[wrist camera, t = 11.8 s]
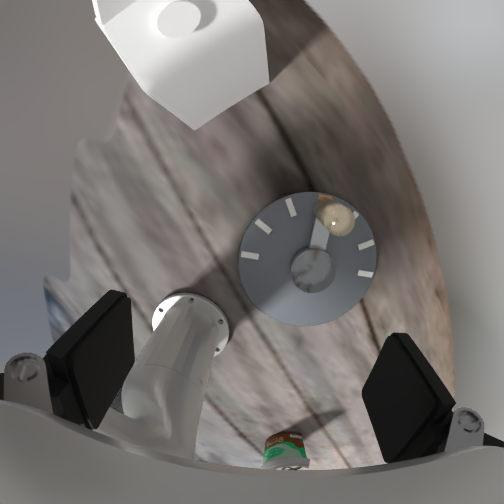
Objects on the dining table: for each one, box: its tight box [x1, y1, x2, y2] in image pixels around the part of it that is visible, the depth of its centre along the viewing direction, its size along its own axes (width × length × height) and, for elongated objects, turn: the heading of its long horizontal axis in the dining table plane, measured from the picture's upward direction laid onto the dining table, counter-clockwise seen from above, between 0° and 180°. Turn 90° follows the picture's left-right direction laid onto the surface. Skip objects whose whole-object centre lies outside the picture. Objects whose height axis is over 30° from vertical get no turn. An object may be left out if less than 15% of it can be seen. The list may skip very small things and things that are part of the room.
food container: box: [260, 432, 310, 470], centre depth 48 cm, size 12×6×10 cm, turn 141°
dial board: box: [238, 192, 377, 326], centre depth 39 cm, size 20×20×1 cm
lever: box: [290, 197, 355, 293], centre depth 34 cm, size 13×6×8 cm, turn 170°
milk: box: [92, 0, 269, 130], centre depth 20 cm, size 12×12×26 cm
